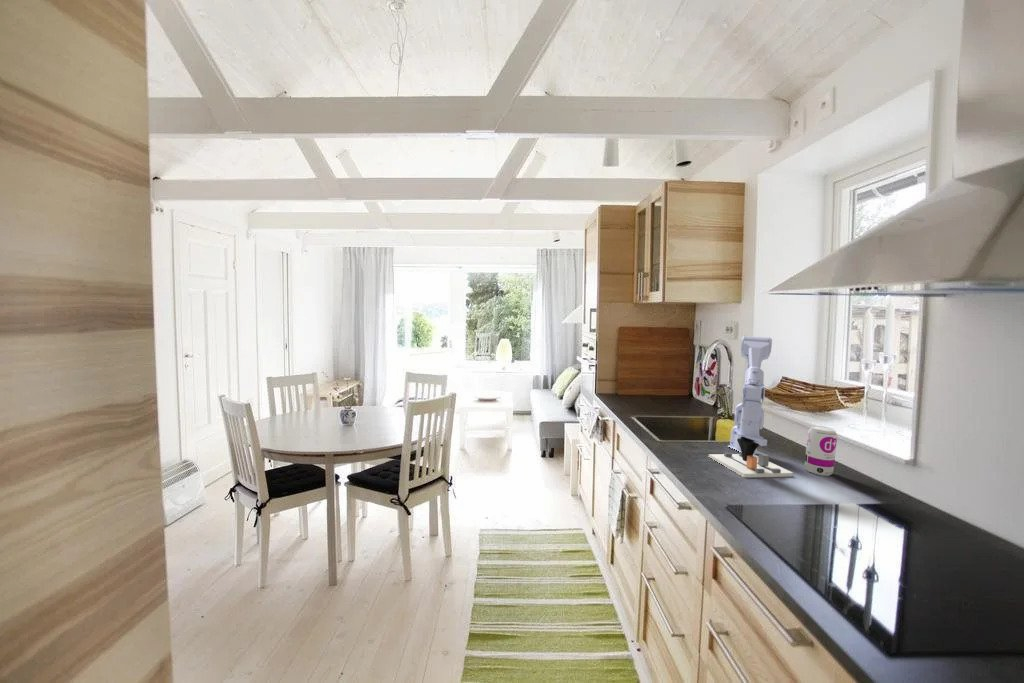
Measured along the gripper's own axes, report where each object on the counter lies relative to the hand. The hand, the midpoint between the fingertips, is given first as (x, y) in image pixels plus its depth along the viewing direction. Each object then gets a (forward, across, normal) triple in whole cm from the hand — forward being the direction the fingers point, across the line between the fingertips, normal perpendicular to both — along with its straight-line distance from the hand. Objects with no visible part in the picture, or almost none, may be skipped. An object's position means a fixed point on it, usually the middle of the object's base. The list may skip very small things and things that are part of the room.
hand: (746, 460), depth 157 cm
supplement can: (+3, +3, +25) cm, 25 cm away
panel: (+3, -3, +3) cm, 5 cm away
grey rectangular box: (+1, 0, +6) cm, 6 cm away
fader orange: (+1, +3, 0) cm, 3 cm away
